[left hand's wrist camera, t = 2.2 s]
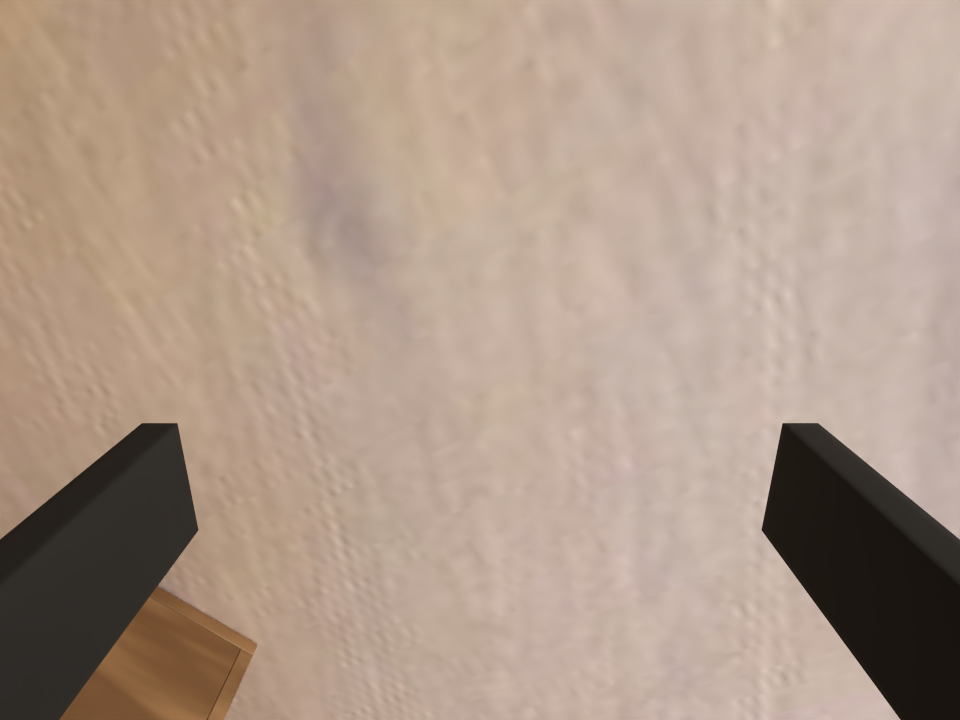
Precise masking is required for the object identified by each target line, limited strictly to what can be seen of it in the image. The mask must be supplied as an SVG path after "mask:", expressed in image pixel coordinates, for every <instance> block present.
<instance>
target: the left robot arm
mask: <svg viewBox="0 0 960 720" xmlns="http://www.w3.org/2000/svg"><path fill="white" fill-rule="evenodd" d="M197 531H198V526H197V521H196V516H195V511H194V506H193V500H192V495H191V490H190V485H189V480H188V475H187V470H186V465H185V460H184V455H183V450H182V445H181V440H180V435H179V430H178V424H177V423H142V424H141V425H139V426H138V427H137V428H136V429H134V430H133V431H132V432H131V433H130V434H128V435H127V436H126V437H125V438H124V439H122V440H121V441H120V442H119V443H117V444H116V445H115V446H114V447H113V448H111V449H110V450H109V451H108V452H106V453H105V454H104V455H103V456H102V457H100V458H99V459H98V460H97V461H95V462H94V463H93V464H92V465H91V466H89V467H88V468H87V469H86V470H85V471H83V472H82V473H81V474H80V475H78V476H77V477H76V478H75V479H74V480H72V481H71V482H70V483H69V484H67V485H66V486H65V487H64V488H63V489H61V490H60V491H59V492H58V493H56V494H55V495H54V496H53V497H52V498H50V499H49V500H48V501H47V502H46V503H44V504H43V505H42V506H41V507H39V508H38V509H37V510H36V511H35V512H33V513H32V514H31V515H30V516H28V517H27V518H26V519H25V520H24V521H22V522H21V523H20V524H19V525H17V526H16V527H15V528H14V529H13V530H11V531H10V532H9V533H8V534H7V535H5V536H4V537H3V538H2V539H0V720H59V719H60V718H61V717H62V715H63V714H64V713H65V711H66V710H67V709H68V707H69V706H70V704H71V703H72V702H73V700H74V699H75V698H76V696H77V695H78V694H79V692H80V691H81V689H82V688H83V687H84V685H85V684H86V683H87V681H88V680H89V679H90V677H91V676H92V674H93V673H94V672H95V670H96V669H97V668H98V666H99V665H100V664H101V662H102V661H103V659H104V658H105V657H106V655H107V654H108V653H109V651H110V650H111V649H112V647H113V646H114V644H115V643H116V642H117V640H118V639H119V638H120V636H121V635H122V634H123V632H124V631H125V629H126V628H127V627H128V625H129V624H130V623H131V621H132V620H133V619H134V617H135V616H136V614H137V613H138V612H139V610H140V609H141V608H142V606H143V605H144V604H145V602H146V601H147V599H148V598H149V597H150V595H151V594H152V593H153V591H154V590H155V589H156V587H157V586H158V584H159V583H160V582H161V580H162V579H163V578H164V576H165V575H166V574H167V572H168V571H169V569H170V568H171V567H172V565H173V564H174V563H175V561H176V560H177V559H178V557H179V556H180V554H181V553H182V552H183V550H184V549H185V548H186V546H187V545H188V544H189V542H190V541H191V539H192V538H193V537H194V535H195V534H196V533H197ZM762 531H763V533H764V534H765V535H766V537H767V538H768V539H769V541H770V542H771V544H772V545H773V546H774V548H775V549H776V550H777V552H778V553H779V554H780V556H781V557H782V559H783V560H784V561H785V563H786V564H787V565H788V567H789V568H790V569H791V571H792V572H793V574H794V575H795V576H796V578H797V579H798V580H799V582H800V583H801V584H802V586H803V587H804V589H805V590H806V591H807V593H808V594H809V595H810V597H811V598H812V599H813V601H814V602H815V604H816V605H817V606H818V608H819V609H820V610H821V612H822V613H823V614H824V616H825V617H826V619H827V620H828V621H829V623H830V624H831V625H832V627H833V628H834V629H835V631H836V632H837V634H838V635H839V636H840V638H841V639H842V640H843V642H844V643H845V644H846V646H847V647H848V649H849V650H850V651H851V653H852V654H853V655H854V657H855V658H856V659H857V661H858V662H859V664H860V665H861V666H862V668H863V669H864V670H865V672H866V673H867V674H868V676H869V677H870V679H871V680H872V681H873V683H874V684H875V685H876V687H877V688H878V689H879V691H880V692H881V694H882V695H883V696H884V698H885V699H886V700H887V702H888V703H889V704H890V706H891V707H892V709H893V710H894V711H895V713H896V714H897V715H898V717H899V718H900V719H901V720H960V539H958V538H957V537H956V536H955V535H953V534H952V533H951V532H950V531H949V530H947V529H946V528H945V527H944V526H943V525H941V524H940V523H939V522H938V521H936V520H935V519H934V518H933V517H932V516H930V515H929V514H928V513H927V512H925V511H924V510H923V509H922V508H921V507H919V506H918V505H917V504H916V503H914V502H913V501H912V500H911V499H910V498H908V497H907V496H906V495H905V494H904V493H902V492H901V491H900V490H899V489H897V488H896V487H895V486H894V485H893V484H891V483H890V482H889V481H888V480H886V479H885V478H884V477H883V476H882V475H880V474H879V473H878V472H877V471H875V470H874V469H873V468H872V467H871V466H869V465H868V464H867V463H866V462H865V461H863V460H862V459H861V458H860V457H858V456H857V455H856V454H855V453H854V452H852V451H851V450H850V449H849V448H847V447H846V446H845V445H844V444H843V443H841V442H840V441H839V440H838V439H836V438H835V437H834V436H833V435H832V434H830V433H829V432H828V431H827V430H826V429H824V428H823V427H822V426H821V425H819V424H818V423H783V424H782V430H781V435H780V440H779V445H778V450H777V455H776V460H775V465H774V470H773V475H772V480H771V485H770V490H769V495H768V500H767V506H766V511H765V516H764V521H763V526H762Z"/></svg>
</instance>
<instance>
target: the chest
mask: <svg viewBox="0 0 960 720" xmlns="http://www.w3.org/2000/svg"><path fill="white" fill-rule="evenodd" d="M256 647H257V644H256V643H254V642H252V641H251V640H249V639H247V638H246V637H244V636H242V635H240V634H239V633H237V632H235V631H233V630H232V629H230V628H228V627H227V626H225V625H223V624H221V623H220V622H218V621H216V620H215V619H213V618H211V617H209V616H208V615H206V614H204V613H202V612H201V611H199V610H197V609H196V608H194V607H192V606H190V605H189V604H187V603H185V602H183V601H182V600H180V599H178V598H177V597H175V596H173V595H171V594H170V593H168V592H166V591H164V590H163V589H161V588H159V587H158V586H157V587H156V589H155V590H154V591H153V593H152V594H151V595H150V597H149V598H148V599H147V601H146V602H145V604H144V605H143V606H142V608H141V609H140V610H139V612H138V613H137V614H136V616H135V617H134V619H133V620H132V621H131V623H130V624H129V625H128V627H127V628H126V629H125V631H124V632H123V634H122V635H121V636H120V638H119V639H118V640H117V642H116V643H115V644H114V646H113V647H112V649H111V650H110V651H109V653H108V654H107V655H106V657H105V658H104V659H103V661H102V662H101V664H100V665H99V666H98V668H97V669H96V670H95V672H94V673H93V674H92V676H91V677H90V679H89V680H88V681H87V683H86V684H85V685H84V687H83V688H82V689H81V691H80V692H79V694H78V695H77V696H76V698H75V699H74V700H73V702H72V703H71V704H70V706H69V707H68V709H67V710H66V711H65V713H64V714H63V715H62V717H61V718H60V719H59V720H224V719H225V716H226V714H227V712H228V710H229V707H230V705H231V703H232V701H233V698H234V696H235V694H236V692H237V690H238V687H239V685H240V683H241V681H242V678H243V676H244V674H245V672H246V669H247V667H248V665H249V663H250V660H251V658H252V655H253V654H254V651H255V649H256Z"/></svg>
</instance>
